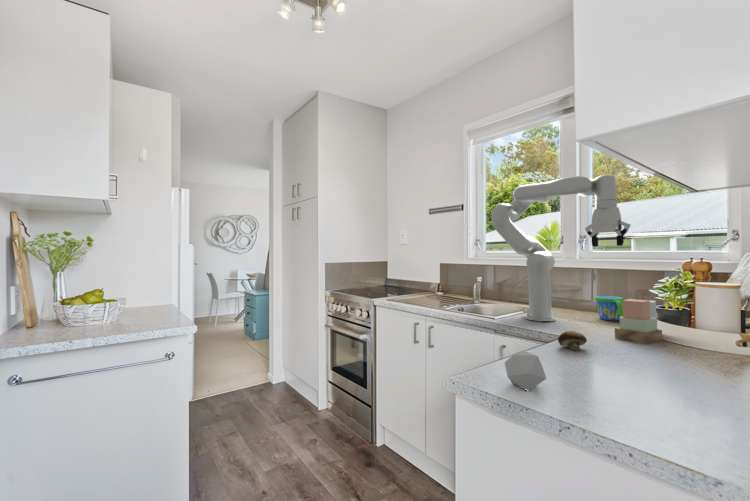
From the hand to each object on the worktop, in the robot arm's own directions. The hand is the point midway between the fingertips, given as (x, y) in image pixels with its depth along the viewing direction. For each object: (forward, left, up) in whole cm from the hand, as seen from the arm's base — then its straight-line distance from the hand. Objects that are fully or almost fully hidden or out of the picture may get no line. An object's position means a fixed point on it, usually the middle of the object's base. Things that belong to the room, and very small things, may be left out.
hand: (607, 246), depth 146 cm
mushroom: (+13, -46, -34) cm, 58 cm away
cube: (+17, -16, -26) cm, 35 cm away
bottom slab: (+18, -15, -34) cm, 41 cm away
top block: (+18, -16, -30) cm, 38 cm away
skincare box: (+15, -2, -34) cm, 37 cm away
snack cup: (-8, +15, -34) cm, 38 cm away
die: (+27, -86, -34) cm, 96 cm away
